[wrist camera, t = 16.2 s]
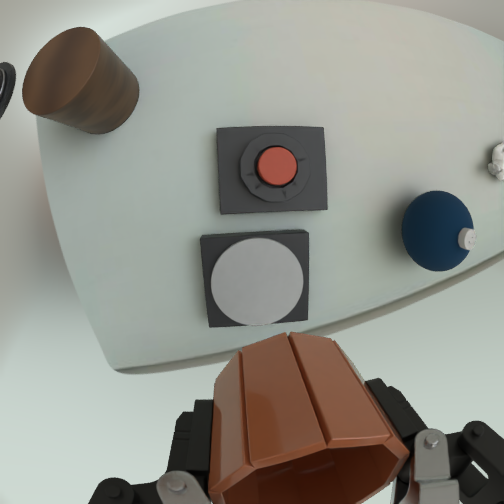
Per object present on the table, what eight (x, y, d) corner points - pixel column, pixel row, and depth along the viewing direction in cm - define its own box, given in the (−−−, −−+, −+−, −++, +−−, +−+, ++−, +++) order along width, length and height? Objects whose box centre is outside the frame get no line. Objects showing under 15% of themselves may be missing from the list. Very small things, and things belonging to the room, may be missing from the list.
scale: (210, 319, 29) (208, 330, 26) (202, 234, 27) (199, 239, 24) (303, 312, 29) (309, 323, 27) (303, 229, 27) (310, 233, 25)
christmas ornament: (410, 274, 29) (464, 304, 20) (374, 223, 28) (432, 240, 18) (449, 227, 29) (505, 242, 19) (418, 174, 27) (479, 174, 17)
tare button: (258, 185, 24) (259, 185, 22) (256, 149, 23) (257, 147, 22) (294, 184, 24) (297, 184, 23) (292, 149, 23) (295, 146, 22)
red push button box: (221, 213, 27) (219, 215, 24) (217, 131, 25) (215, 124, 22) (322, 208, 27) (332, 210, 24) (318, 130, 25) (328, 124, 22)
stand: (73, 141, 24) (16, 127, 14) (78, 77, 22) (31, 46, 12) (138, 126, 24) (94, 99, 14) (141, 60, 22) (107, 14, 13)
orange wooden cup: (224, 432, 12) (224, 530, 6) (208, 330, 11) (191, 451, 5) (339, 418, 12) (377, 504, 6) (355, 317, 11) (434, 406, 5)
